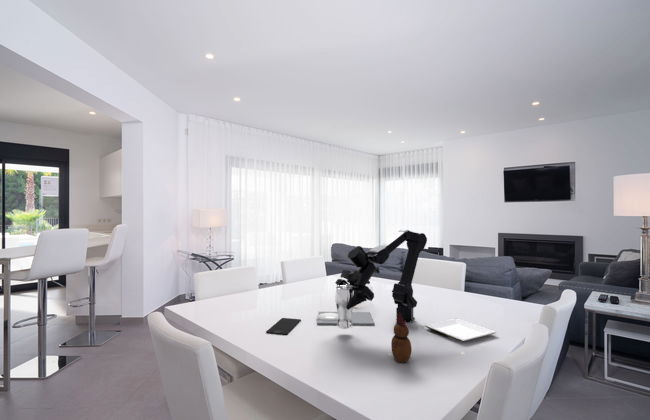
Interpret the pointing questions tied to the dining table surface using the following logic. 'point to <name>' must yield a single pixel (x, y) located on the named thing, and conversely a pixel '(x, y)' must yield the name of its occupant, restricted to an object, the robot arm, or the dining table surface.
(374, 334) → the dining table surface
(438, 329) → the plate
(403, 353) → the wooden figurine
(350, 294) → the beer glass
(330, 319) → the base plate
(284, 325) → the cell phone
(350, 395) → the dining table surface
